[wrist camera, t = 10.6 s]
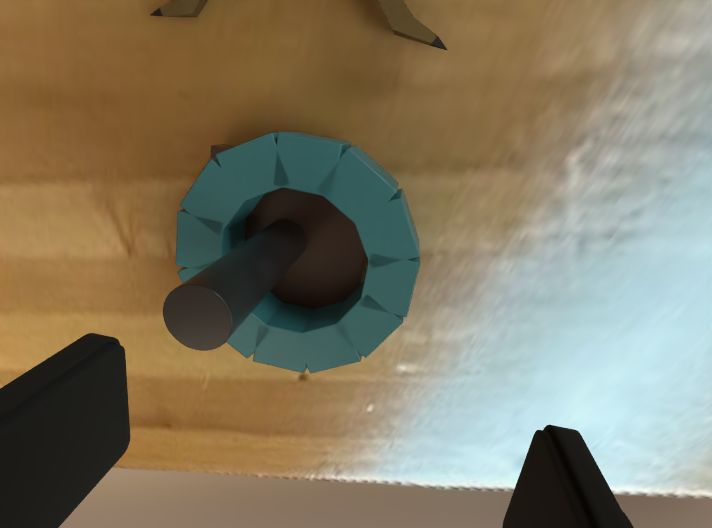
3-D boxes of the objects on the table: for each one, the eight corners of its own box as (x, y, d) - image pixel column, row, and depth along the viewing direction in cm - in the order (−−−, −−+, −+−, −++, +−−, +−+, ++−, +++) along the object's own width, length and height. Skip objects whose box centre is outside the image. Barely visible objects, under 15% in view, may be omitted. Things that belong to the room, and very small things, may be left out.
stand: (380, 168, 22) (349, 205, 11) (357, 315, 25) (316, 454, 14) (222, 144, 23) (55, 157, 12) (218, 289, 26) (80, 404, 15)
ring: (440, 159, 20) (444, 164, 18) (390, 362, 24) (387, 393, 21) (211, 114, 21) (180, 112, 18) (199, 318, 25) (172, 343, 22)
